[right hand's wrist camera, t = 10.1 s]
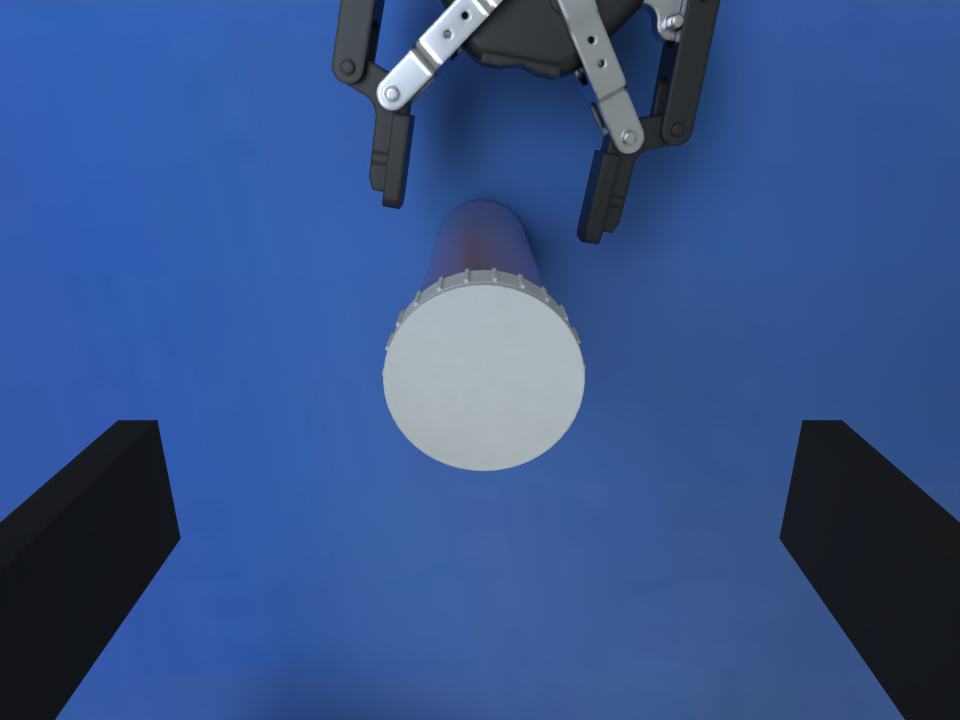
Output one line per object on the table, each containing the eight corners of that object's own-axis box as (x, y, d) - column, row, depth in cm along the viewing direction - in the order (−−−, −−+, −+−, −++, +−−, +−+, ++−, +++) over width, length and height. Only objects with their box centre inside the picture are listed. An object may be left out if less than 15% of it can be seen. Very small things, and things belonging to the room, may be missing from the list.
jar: (490, 181, 34) (502, 256, 17) (544, 254, 35) (604, 392, 18) (419, 236, 35) (360, 361, 18) (473, 305, 36) (468, 482, 19)
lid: (503, 226, 18) (506, 237, 16) (615, 376, 19) (628, 401, 18) (349, 342, 19) (337, 364, 17) (466, 475, 21) (465, 507, 19)
